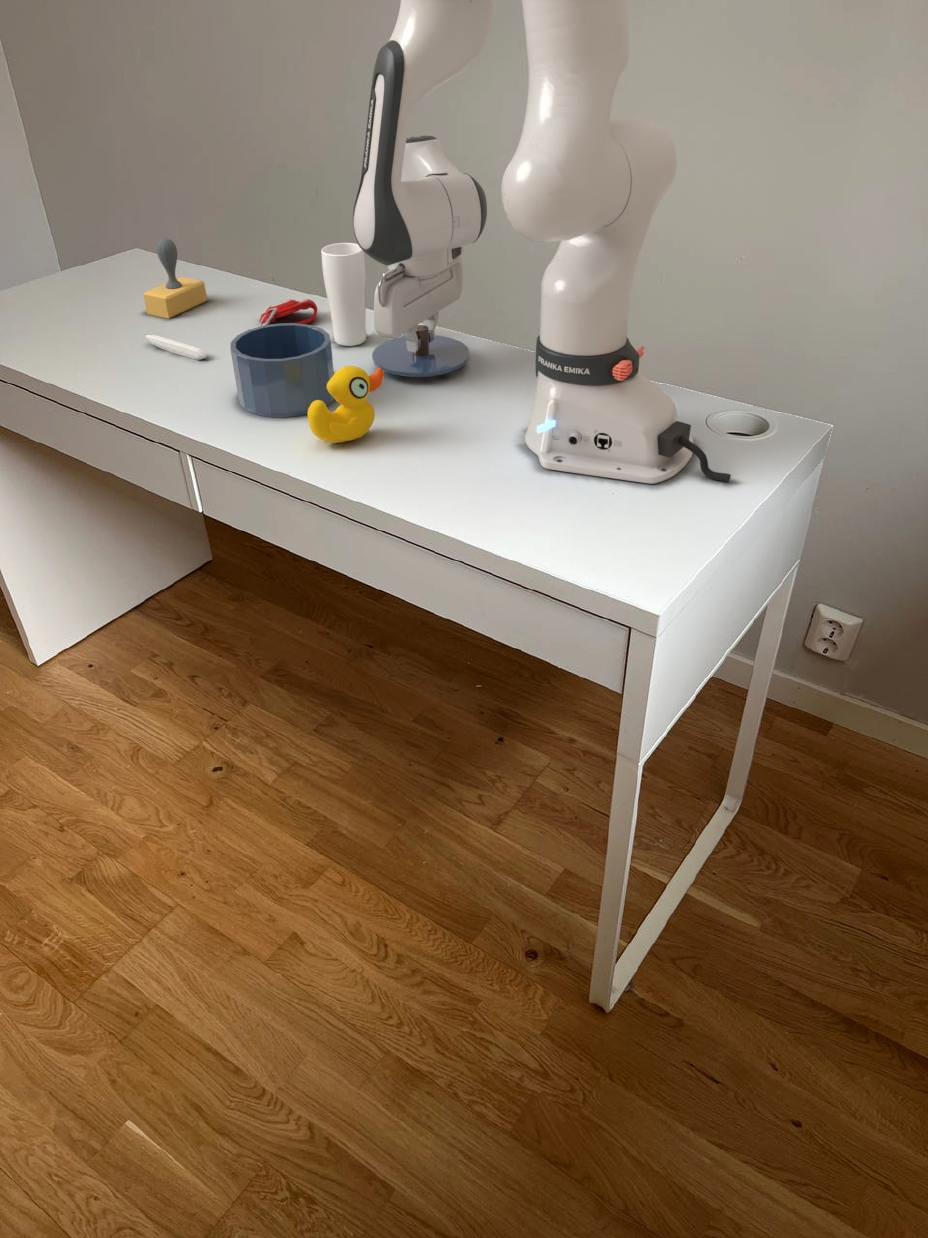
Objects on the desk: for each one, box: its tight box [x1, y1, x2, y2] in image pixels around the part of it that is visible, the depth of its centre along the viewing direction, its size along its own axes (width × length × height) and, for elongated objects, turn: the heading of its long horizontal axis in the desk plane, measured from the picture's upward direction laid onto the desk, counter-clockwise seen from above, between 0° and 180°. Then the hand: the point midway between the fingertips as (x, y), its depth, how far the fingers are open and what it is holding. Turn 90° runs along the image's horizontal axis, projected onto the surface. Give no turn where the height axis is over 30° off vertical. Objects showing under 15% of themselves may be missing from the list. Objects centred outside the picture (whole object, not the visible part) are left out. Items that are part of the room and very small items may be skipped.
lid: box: [371, 324, 471, 378], centre depth 157 cm, size 15×15×5 cm
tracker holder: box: [257, 298, 318, 327], centre depth 173 cm, size 12×4×10 cm
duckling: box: [307, 365, 385, 444], centre depth 136 cm, size 11×5×10 cm, turn 122°
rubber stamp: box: [143, 237, 208, 320], centre depth 178 cm, size 10×6×12 cm, turn 150°
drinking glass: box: [320, 242, 367, 347], centre depth 163 cm, size 7×7×15 cm
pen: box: [145, 334, 207, 361], centre depth 165 cm, size 2×14×2 cm, turn 56°
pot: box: [229, 322, 335, 418], centre depth 148 cm, size 14×14×8 cm
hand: (421, 345), depth 157 cm, fingers closed on lid, 2 cm apart
